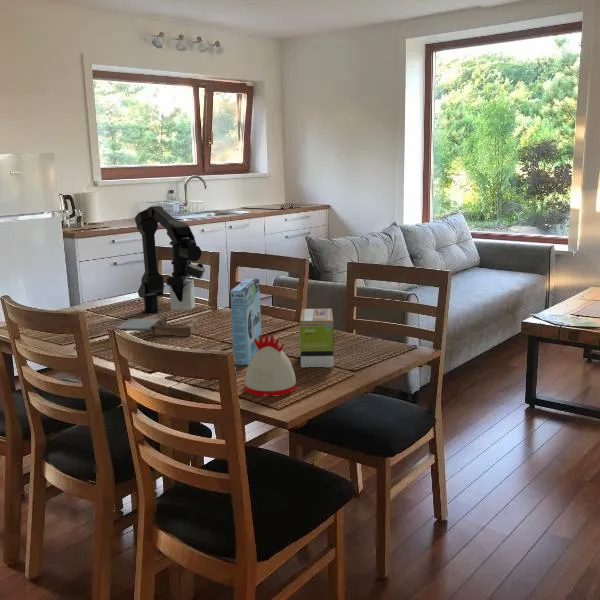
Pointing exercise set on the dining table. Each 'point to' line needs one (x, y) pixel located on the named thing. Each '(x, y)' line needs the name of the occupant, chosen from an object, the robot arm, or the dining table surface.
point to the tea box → (316, 338)
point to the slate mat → (138, 324)
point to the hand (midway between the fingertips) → (182, 299)
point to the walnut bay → (174, 328)
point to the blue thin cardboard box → (245, 320)
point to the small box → (187, 299)
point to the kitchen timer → (269, 370)
